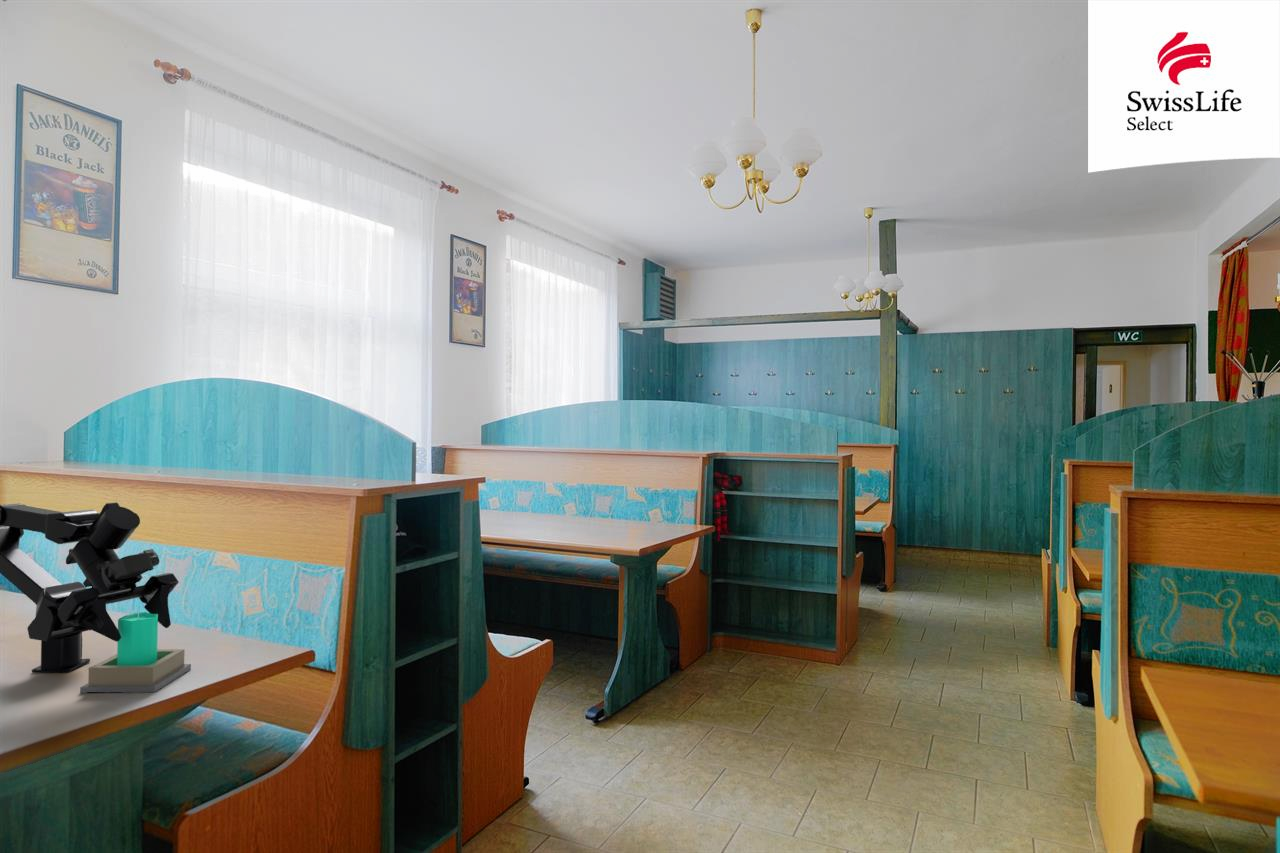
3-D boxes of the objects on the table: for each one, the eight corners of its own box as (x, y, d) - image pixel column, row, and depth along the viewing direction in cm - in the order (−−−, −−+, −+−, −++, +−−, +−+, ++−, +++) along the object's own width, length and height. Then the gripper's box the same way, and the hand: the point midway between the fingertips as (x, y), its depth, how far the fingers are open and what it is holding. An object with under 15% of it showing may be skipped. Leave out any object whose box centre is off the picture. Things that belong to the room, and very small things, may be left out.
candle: (135, 682, 128) (136, 613, 128) (108, 678, 130) (109, 610, 130) (165, 671, 134) (166, 605, 134) (139, 668, 136) (140, 602, 136)
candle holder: (154, 692, 126) (155, 668, 126) (80, 693, 125) (80, 669, 125) (190, 669, 138) (191, 647, 138) (122, 670, 137) (123, 648, 137)
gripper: (70, 544, 124) (116, 616, 121) (172, 530, 142) (215, 593, 139) (37, 587, 127) (81, 659, 123) (141, 568, 145) (182, 630, 141)
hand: (144, 632), depth 132 cm, fingers open, 9 cm apart
